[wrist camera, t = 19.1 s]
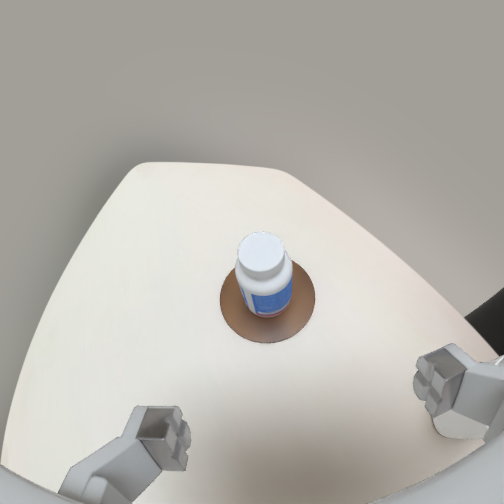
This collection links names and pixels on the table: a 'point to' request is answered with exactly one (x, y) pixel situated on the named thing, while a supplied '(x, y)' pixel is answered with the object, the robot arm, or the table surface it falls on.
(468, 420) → the cup
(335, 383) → the table surface
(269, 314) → the pill bottle
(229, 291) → the coaster
